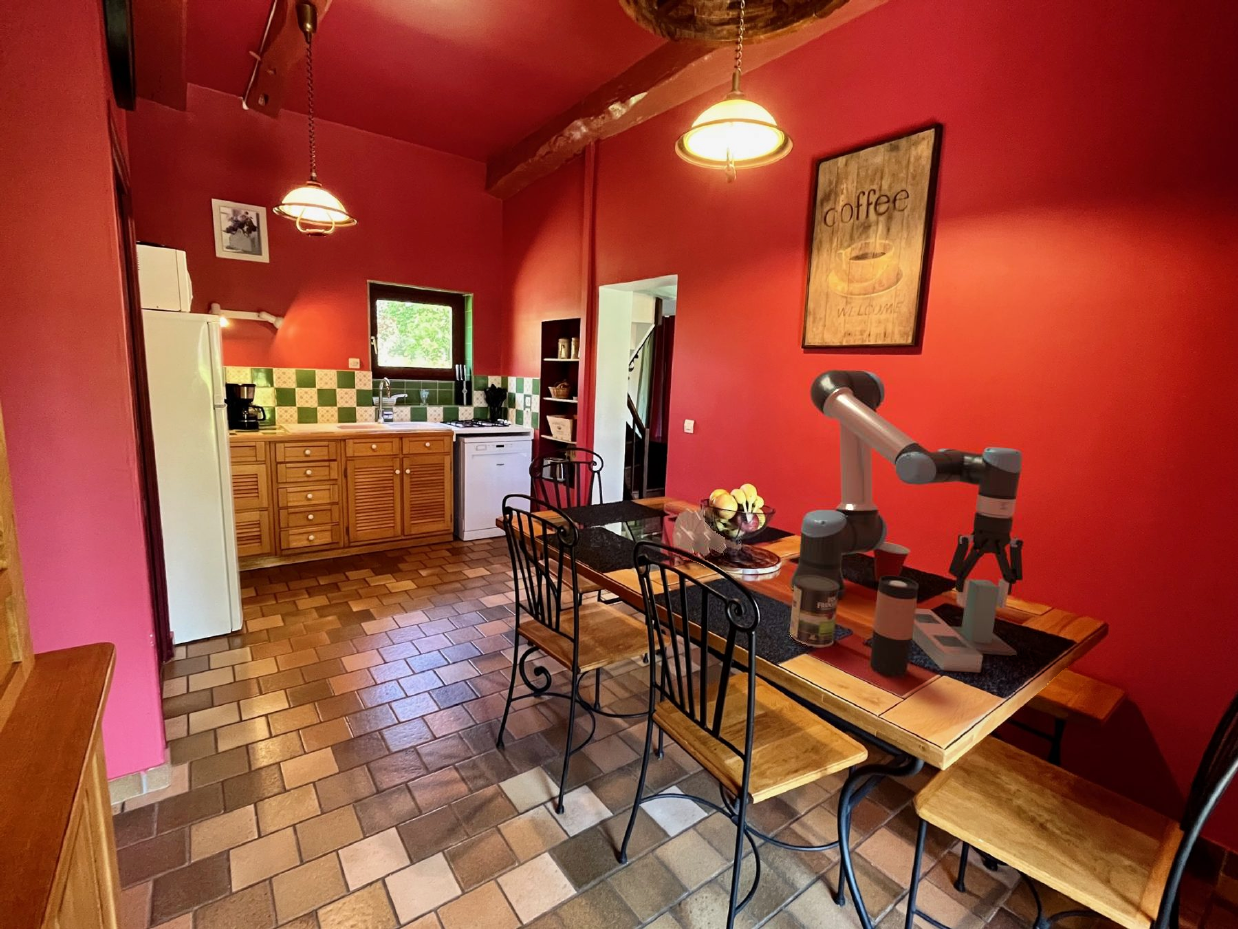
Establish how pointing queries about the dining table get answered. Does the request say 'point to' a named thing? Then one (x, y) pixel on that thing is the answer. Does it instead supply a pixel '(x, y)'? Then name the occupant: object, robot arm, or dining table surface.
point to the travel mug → (893, 625)
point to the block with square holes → (944, 643)
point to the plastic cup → (889, 559)
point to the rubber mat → (989, 645)
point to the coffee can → (814, 610)
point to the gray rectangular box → (980, 611)
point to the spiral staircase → (698, 534)
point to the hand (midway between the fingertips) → (980, 605)
